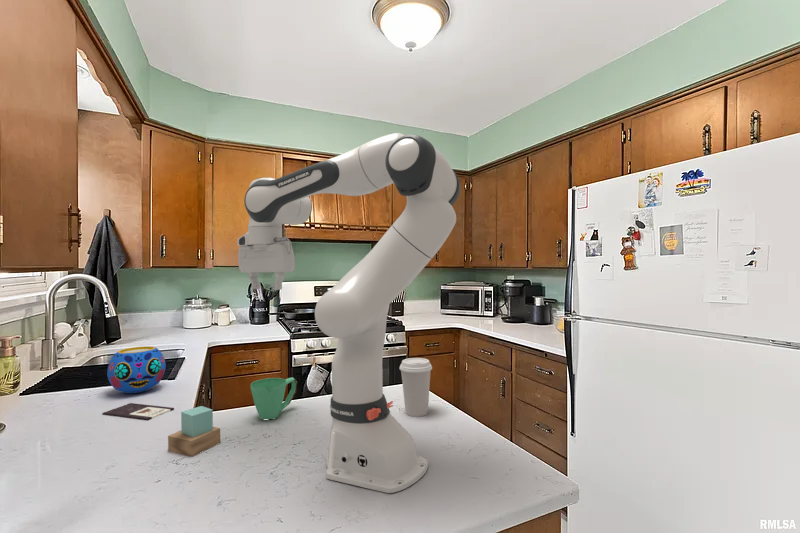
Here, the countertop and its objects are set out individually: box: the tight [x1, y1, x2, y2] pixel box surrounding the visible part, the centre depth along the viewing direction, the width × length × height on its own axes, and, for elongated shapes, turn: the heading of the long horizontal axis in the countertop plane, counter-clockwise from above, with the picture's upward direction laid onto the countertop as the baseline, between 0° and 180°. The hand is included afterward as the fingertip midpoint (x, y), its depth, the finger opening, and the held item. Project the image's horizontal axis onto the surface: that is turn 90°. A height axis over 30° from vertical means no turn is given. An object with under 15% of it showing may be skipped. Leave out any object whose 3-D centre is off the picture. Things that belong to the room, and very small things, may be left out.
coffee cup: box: [399, 357, 433, 418], centre depth 117 cm, size 10×10×15 cm
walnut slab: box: [167, 426, 221, 458], centre depth 97 cm, size 8×8×4 cm
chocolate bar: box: [101, 402, 175, 421], centre depth 122 cm, size 9×1×18 cm
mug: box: [249, 377, 298, 420], centre depth 118 cm, size 15×10×10 cm
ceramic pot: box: [106, 345, 167, 394], centre depth 144 cm, size 18×18×15 cm
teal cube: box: [180, 405, 214, 437], centre depth 98 cm, size 5×5×5 cm
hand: (266, 289), depth 110 cm, fingers open, 8 cm apart
